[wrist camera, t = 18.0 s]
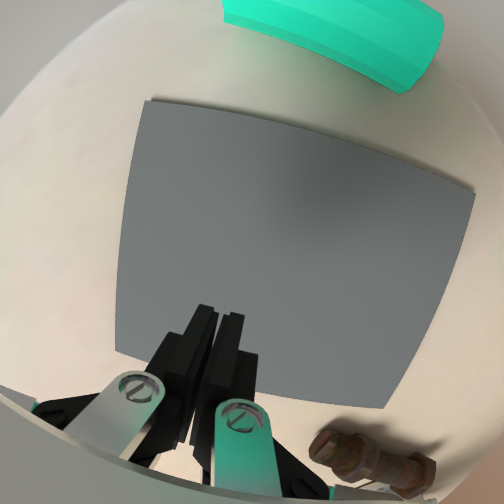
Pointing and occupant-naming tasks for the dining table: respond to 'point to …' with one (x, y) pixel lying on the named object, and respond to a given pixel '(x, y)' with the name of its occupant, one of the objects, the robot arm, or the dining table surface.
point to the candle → (352, 33)
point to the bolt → (372, 463)
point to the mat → (285, 249)
